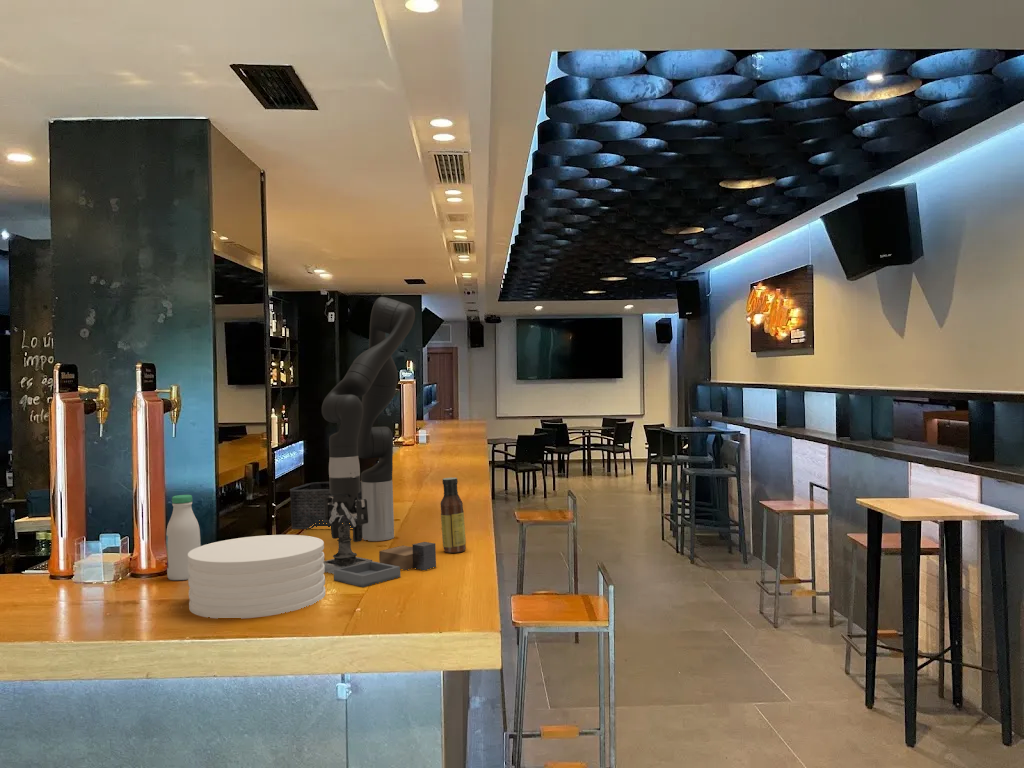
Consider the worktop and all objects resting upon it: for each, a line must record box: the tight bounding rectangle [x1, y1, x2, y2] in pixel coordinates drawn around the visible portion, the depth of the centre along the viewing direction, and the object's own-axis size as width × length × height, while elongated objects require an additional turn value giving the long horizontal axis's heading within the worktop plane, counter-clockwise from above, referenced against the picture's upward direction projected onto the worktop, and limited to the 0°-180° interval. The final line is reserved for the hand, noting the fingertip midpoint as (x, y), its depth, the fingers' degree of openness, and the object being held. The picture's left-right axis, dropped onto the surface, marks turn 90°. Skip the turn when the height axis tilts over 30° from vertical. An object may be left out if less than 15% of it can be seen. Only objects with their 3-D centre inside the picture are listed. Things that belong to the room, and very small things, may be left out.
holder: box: [323, 556, 373, 575], centre depth 196 cm, size 10×10×2 cm
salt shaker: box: [332, 522, 358, 566], centre depth 196 cm, size 6×6×12 cm
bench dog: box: [411, 541, 437, 571], centre depth 194 cm, size 4×4×6 cm
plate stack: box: [187, 534, 326, 619], centre depth 170 cm, size 28×28×12 cm
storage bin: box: [289, 480, 362, 530], centre depth 261 cm, size 29×19×13 cm
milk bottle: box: [165, 494, 202, 581], centre depth 193 cm, size 8×8×20 cm
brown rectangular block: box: [378, 545, 413, 571], centre depth 199 cm, size 10×8×4 cm
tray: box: [333, 560, 401, 588], centre depth 185 cm, size 11×11×2 cm
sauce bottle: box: [440, 477, 467, 554], centre depth 213 cm, size 6×6×20 cm
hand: (346, 539), depth 196 cm, fingers open, 8 cm apart
